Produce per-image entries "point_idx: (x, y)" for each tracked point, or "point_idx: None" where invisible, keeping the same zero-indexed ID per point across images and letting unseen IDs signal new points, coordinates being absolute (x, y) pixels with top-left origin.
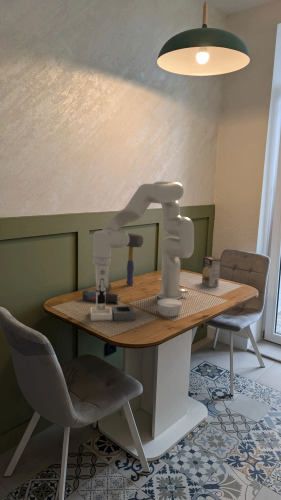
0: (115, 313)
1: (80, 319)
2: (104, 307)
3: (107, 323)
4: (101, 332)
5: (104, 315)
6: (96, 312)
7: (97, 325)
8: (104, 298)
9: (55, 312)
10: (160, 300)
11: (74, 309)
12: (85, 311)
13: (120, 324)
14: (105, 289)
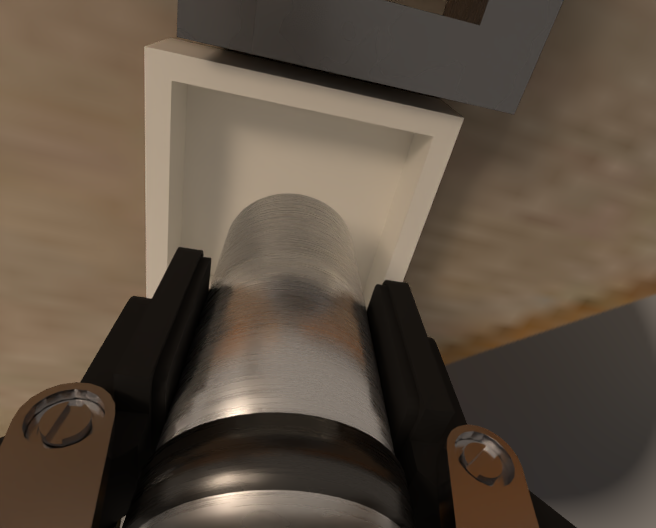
0: (524, 87)
1: None
2: (338, 225)
3: (502, 179)
4: (650, 277)
5: (423, 213)
6: (194, 230)
7: (498, 275)
8: (424, 350)
9: None
10: None
11: (56, 375)
12: (114, 305)
13: (612, 38)
14: (355, 501)
